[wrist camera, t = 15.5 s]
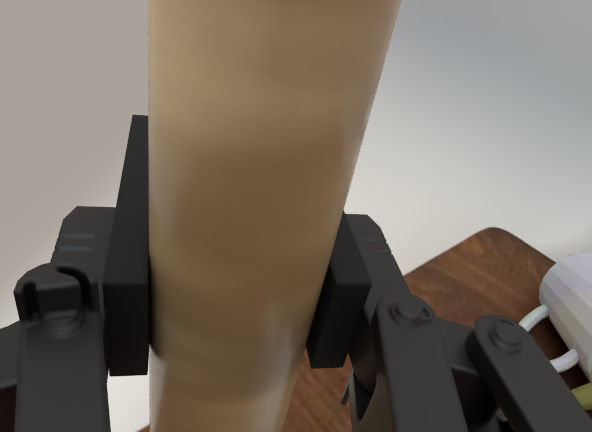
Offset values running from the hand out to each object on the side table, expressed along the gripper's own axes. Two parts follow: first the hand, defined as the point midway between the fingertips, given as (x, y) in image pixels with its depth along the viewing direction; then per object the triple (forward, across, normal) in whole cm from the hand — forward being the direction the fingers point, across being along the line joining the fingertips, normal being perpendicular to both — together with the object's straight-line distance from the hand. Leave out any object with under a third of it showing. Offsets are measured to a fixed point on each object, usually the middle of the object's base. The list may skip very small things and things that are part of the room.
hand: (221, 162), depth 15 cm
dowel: (-5, 0, -15) cm, 16 cm away
